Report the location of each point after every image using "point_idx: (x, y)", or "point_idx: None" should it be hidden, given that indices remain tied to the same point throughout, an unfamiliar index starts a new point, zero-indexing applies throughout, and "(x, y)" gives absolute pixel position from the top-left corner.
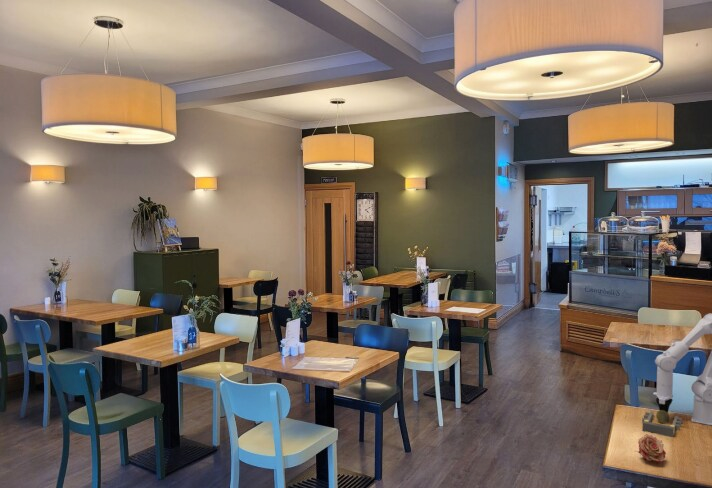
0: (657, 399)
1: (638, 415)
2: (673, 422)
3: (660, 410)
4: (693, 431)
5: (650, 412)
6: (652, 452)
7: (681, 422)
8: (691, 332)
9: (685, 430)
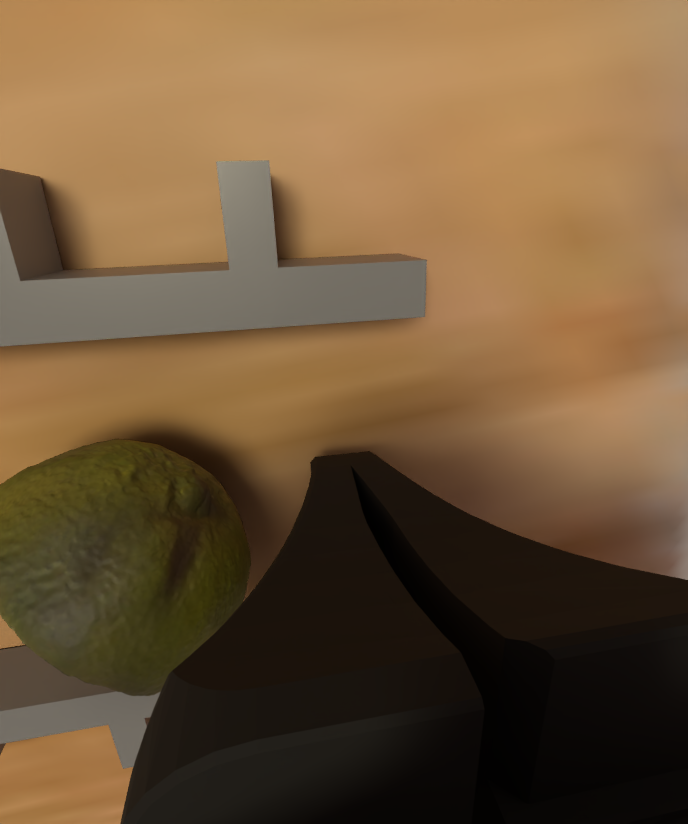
0: (237, 809)
1: (203, 3)
2: (23, 713)
3: (42, 631)
4: (94, 812)
5: (300, 275)
6: None
7: None
8: None
9: (48, 762)
